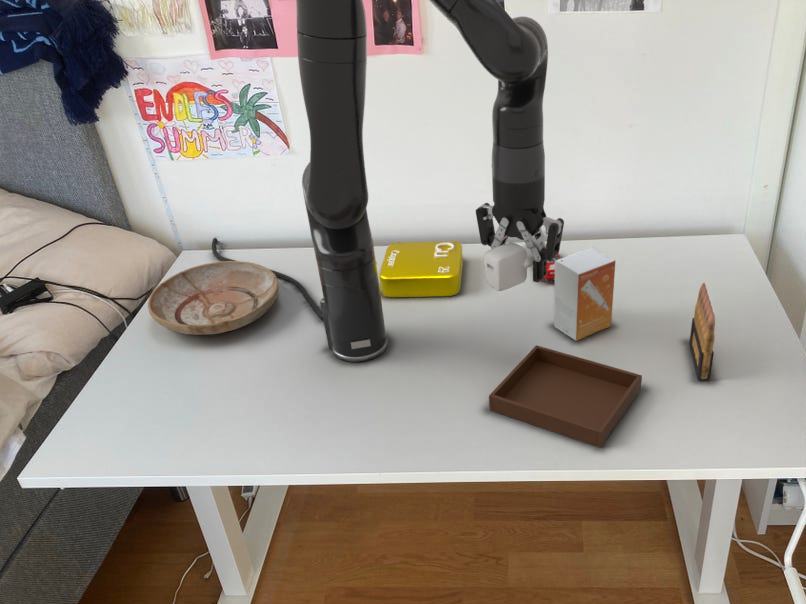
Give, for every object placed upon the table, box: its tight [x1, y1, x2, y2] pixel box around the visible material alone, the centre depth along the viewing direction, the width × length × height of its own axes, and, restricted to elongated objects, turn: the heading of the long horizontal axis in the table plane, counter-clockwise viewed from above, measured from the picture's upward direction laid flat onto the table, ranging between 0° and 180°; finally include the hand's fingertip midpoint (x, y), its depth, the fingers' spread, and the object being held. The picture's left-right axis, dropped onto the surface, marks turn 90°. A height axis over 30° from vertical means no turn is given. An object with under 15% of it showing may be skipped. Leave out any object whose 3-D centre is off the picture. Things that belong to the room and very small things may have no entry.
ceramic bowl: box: [147, 260, 280, 336], centre depth 144 cm, size 23×24×5 cm
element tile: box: [378, 240, 464, 299], centre depth 152 cm, size 15×15×5 cm
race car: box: [541, 253, 561, 283], centre depth 153 cm, size 13×5×4 cm, turn 9°
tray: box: [488, 345, 643, 449], centre depth 119 cm, size 18×15×3 cm
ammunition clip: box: [688, 282, 716, 382], centre depth 122 cm, size 11×2×12 cm, turn 175°
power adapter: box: [483, 241, 534, 292], centre depth 120 cm, size 11×5×6 cm, turn 126°
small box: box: [553, 247, 616, 342], centre depth 132 cm, size 8×6×13 cm
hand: (519, 274), depth 121 cm, fingers closed on power adapter, 6 cm apart
